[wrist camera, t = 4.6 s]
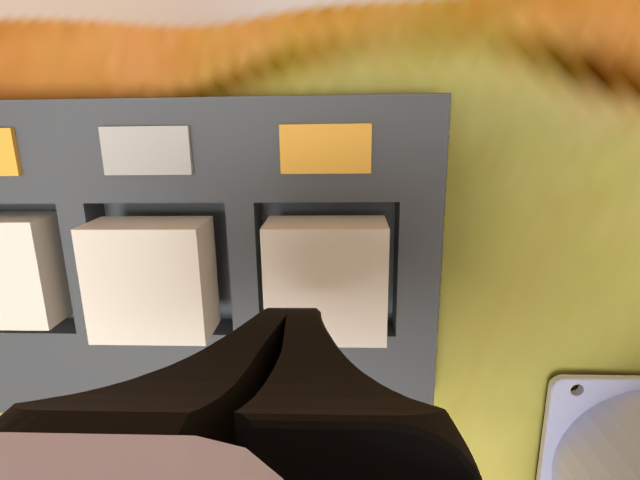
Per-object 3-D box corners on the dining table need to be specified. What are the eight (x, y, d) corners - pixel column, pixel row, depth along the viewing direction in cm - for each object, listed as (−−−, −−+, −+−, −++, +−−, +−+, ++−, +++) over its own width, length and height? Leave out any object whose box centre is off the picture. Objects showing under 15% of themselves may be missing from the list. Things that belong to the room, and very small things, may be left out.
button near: (384, 215, 16) (390, 229, 14) (381, 321, 17) (386, 347, 16) (269, 215, 17) (259, 229, 15) (274, 320, 18) (265, 346, 16)
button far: (63, 210, 18) (30, 222, 16) (78, 308, 19) (49, 330, 17) (-39, 211, 18) (-84, 222, 16) (-18, 307, 19) (-58, 329, 17)
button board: (438, 94, 17) (452, 92, 15) (423, 390, 20) (433, 423, 18) (-96, 103, 18) (-155, 102, 16) (-30, 383, 21) (-72, 414, 19)
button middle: (212, 215, 17) (195, 229, 15) (220, 320, 18) (206, 345, 16) (101, 216, 17) (70, 229, 15) (115, 319, 18) (88, 344, 16)
